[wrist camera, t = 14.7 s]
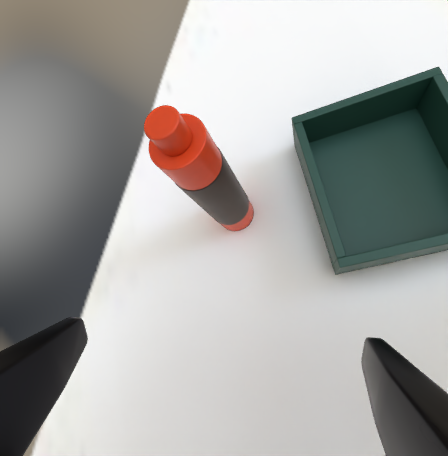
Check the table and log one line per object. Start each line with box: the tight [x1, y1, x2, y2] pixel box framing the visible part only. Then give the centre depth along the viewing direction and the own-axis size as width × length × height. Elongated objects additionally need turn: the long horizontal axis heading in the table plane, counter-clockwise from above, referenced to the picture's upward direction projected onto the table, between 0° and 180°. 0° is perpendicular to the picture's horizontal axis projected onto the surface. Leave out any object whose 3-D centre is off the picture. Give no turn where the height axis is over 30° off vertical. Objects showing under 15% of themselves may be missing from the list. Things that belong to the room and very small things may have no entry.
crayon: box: [144, 105, 254, 231], centre depth 18 cm, size 3×3×13 cm
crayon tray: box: [292, 67, 448, 274], centre depth 20 cm, size 11×10×4 cm
